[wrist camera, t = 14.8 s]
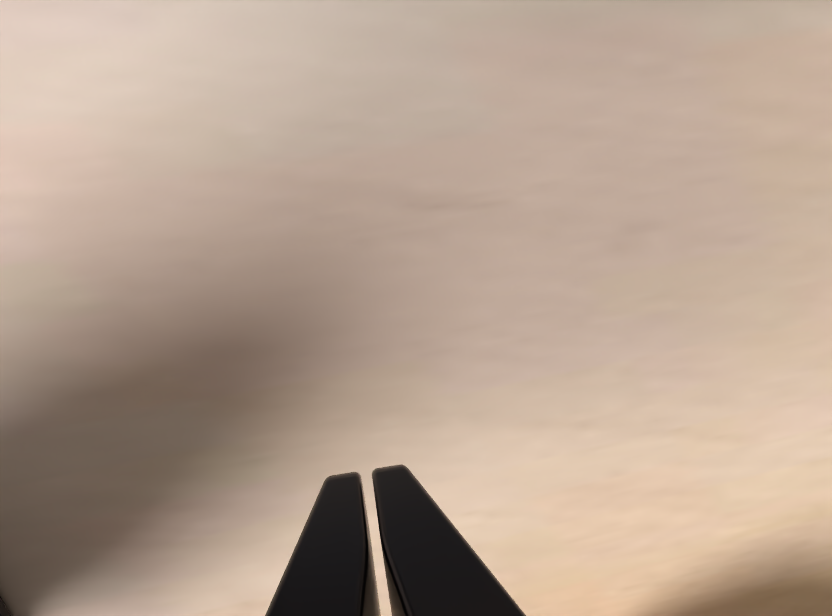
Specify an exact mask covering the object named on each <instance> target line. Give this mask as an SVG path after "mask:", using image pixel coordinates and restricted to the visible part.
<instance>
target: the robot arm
mask: <svg viewBox="0 0 832 616" xmlns="http://www.w3.org/2000/svg"><path fill="white" fill-rule="evenodd" d="M372 479H373V486H374V494H375V501H376V508H377V516H378V523H379V531H380V538H381V545H382V551H383V558H384V565H385V571H386V578H387V585H388V591H389V598H390V605H391V612H392V616H526V615H525V614H524V613H523V611H522V610H521V609H520V608H519V606H518V605H517V604H516V603H515V601H514V600H513V599H512V598H511V596H510V595H509V594H508V593H507V591H506V590H505V589H504V588H503V586H502V585H501V584H500V583H499V581H498V580H497V579H496V578H495V576H494V575H493V574H492V573H491V571H490V570H489V569H488V568H487V566H486V565H485V564H484V563H483V561H482V560H481V559H480V558H479V556H478V555H477V554H476V553H475V551H474V550H473V549H472V548H471V546H470V545H469V544H468V543H467V541H466V540H465V539H464V538H463V536H462V535H461V534H460V533H459V531H458V530H457V529H456V528H455V526H454V525H453V524H452V523H451V521H450V520H449V519H448V518H447V516H446V515H445V514H444V513H443V511H442V510H441V509H440V508H439V506H438V505H437V504H436V503H435V501H434V500H433V499H432V498H431V496H430V495H429V494H428V493H427V491H426V490H425V489H424V488H423V486H422V485H421V484H420V483H419V481H418V480H417V479H416V478H415V476H414V475H413V474H412V473H411V471H410V470H409V469H408V468H407V467H406V466H404V465H395V466H389V467H382V468H377V469H375V470H374V471H373V473H372ZM0 616H11V615H10V613H9V611H8V610H7V608H6V606H5V604H4V603H3V601H2V599H1V597H0ZM265 616H381V614H380V607H379V599H378V591H377V584H376V576H375V569H374V561H373V554H372V546H371V538H370V531H369V524H368V517H367V511H366V505H365V499H364V492H363V486H362V480H361V476H360V474H359V473H357V472H351V473H345V474H339V475H332V476H329V477H328V478H326V480H325V481H324V483H323V486H322V488H321V490H320V492H319V495H318V497H317V499H316V501H315V504H314V506H313V508H312V510H311V513H310V515H309V517H308V520H307V522H306V524H305V526H304V529H303V531H302V533H301V535H300V538H299V540H298V542H297V545H296V547H295V549H294V551H293V554H292V556H291V558H290V560H289V563H288V565H287V567H286V569H285V572H284V574H283V576H282V579H281V581H280V583H279V585H278V588H277V590H276V592H275V594H274V597H273V599H272V601H271V603H270V606H269V608H268V610H267V613H266V615H265Z"/></svg>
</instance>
